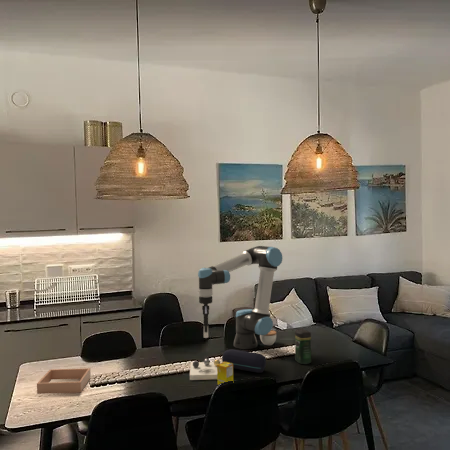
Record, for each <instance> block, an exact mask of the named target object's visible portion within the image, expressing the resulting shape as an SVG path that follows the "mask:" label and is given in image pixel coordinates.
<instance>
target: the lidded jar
mask: <svg viewBox="0 0 450 450" xmlns="http://www.w3.org/2000/svg"><path fill="white" fill-rule="evenodd" d="M259 339H260V341H261V343H262V344H263V346H264V345H265V346H272V345H274V343H275V342H276V340H277V331H276V330H274V329H273V330H272V329H271V331H270V332H269V333H268V334H266V335H259Z"/></svg>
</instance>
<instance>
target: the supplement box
mask: <svg viewBox="0 0 450 450" xmlns="http://www.w3.org/2000/svg"><path fill="white" fill-rule="evenodd" d="M221 362H222V361H221ZM216 380H217V381H216V382H217V386H218V385H219V384H221V383H224V382H228V381H233V382H234V368H233V364H232V363H228V362H222V363H220V364H217V379H216Z"/></svg>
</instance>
